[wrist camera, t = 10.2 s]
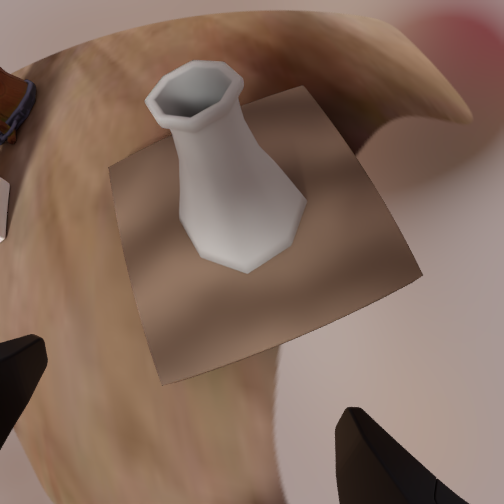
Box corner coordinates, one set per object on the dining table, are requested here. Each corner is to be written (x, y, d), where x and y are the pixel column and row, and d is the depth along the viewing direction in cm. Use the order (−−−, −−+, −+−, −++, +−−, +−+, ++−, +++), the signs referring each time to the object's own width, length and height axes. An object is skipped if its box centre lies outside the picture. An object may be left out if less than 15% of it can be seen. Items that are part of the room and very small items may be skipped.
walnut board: (411, 282, 18) (423, 275, 16) (175, 382, 18) (162, 385, 16) (303, 102, 23) (303, 85, 21) (120, 179, 23) (108, 167, 21)
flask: (162, 224, 19) (66, 128, 10) (236, 143, 20) (196, 19, 11) (250, 298, 17) (188, 230, 7) (328, 200, 18) (346, 66, 8)
